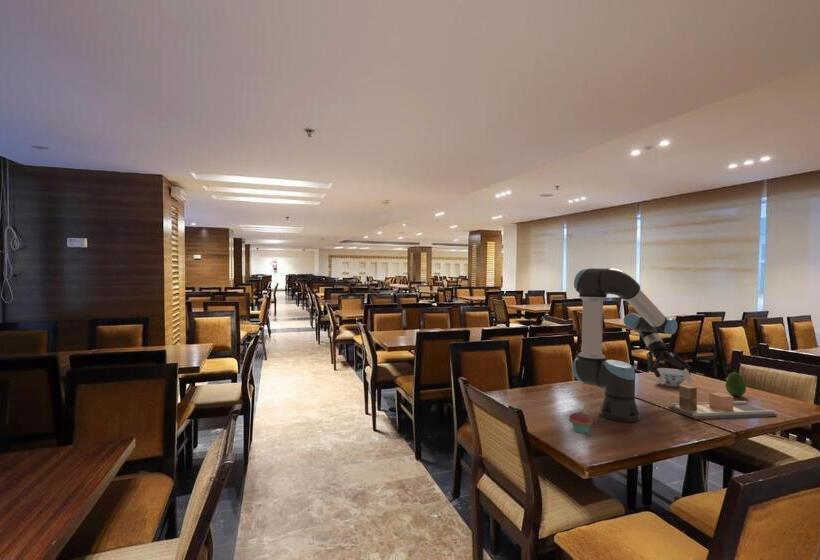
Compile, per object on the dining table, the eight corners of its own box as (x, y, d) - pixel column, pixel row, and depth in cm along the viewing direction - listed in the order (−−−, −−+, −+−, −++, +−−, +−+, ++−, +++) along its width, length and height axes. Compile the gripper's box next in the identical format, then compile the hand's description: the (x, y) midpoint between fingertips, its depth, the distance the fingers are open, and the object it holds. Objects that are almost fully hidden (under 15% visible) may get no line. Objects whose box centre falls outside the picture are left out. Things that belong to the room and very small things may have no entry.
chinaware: (673, 381, 228) (673, 367, 227) (694, 388, 213) (694, 374, 212) (649, 381, 227) (649, 368, 226) (668, 388, 212) (668, 374, 212)
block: (720, 410, 172) (720, 396, 172) (709, 405, 178) (709, 392, 178) (733, 409, 172) (733, 396, 172) (721, 405, 178) (721, 392, 178)
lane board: (695, 419, 166) (695, 414, 166) (668, 407, 181) (668, 402, 181) (776, 416, 169) (776, 411, 169) (743, 405, 184) (743, 400, 184)
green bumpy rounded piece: (729, 392, 204) (729, 370, 204) (748, 396, 198) (748, 373, 198) (723, 395, 200) (723, 372, 200) (742, 399, 193) (742, 375, 193)
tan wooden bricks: (691, 414, 168) (691, 389, 168) (674, 407, 178) (674, 383, 178) (745, 412, 171) (745, 388, 171) (725, 405, 181) (725, 382, 180)
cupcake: (588, 427, 157) (588, 397, 157) (596, 435, 148) (596, 404, 148) (566, 426, 158) (566, 397, 158) (572, 435, 149) (572, 403, 149)
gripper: (674, 348, 199) (698, 386, 184) (628, 349, 197) (648, 387, 182) (682, 340, 193) (707, 378, 179) (635, 340, 191) (656, 378, 177)
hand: (677, 382), depth 180 cm, fingers open, 13 cm apart
